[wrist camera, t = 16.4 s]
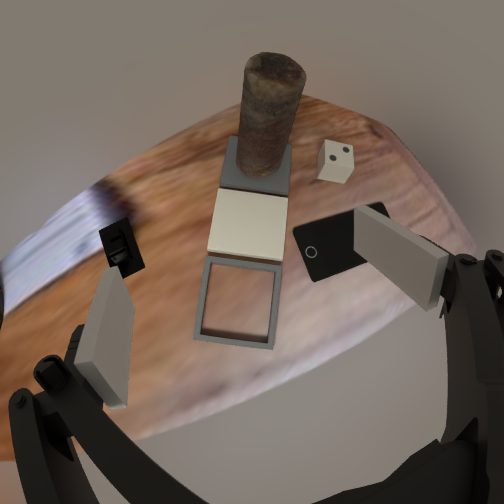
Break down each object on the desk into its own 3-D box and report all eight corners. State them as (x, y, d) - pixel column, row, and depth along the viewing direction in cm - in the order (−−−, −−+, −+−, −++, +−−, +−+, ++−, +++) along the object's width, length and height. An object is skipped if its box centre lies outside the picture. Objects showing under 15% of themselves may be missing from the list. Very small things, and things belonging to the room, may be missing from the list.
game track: (194, 339, 39) (193, 339, 38) (229, 139, 49) (229, 135, 48) (271, 349, 39) (272, 349, 38) (290, 148, 49) (291, 144, 48)
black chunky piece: (155, 275, 42) (147, 268, 37) (114, 295, 40) (102, 290, 36) (130, 208, 45) (121, 195, 40) (93, 227, 43) (81, 216, 39)
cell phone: (290, 230, 45) (292, 228, 44) (380, 203, 48) (382, 201, 47) (311, 283, 43) (313, 282, 42) (400, 248, 46) (403, 246, 45)
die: (317, 178, 48) (325, 162, 43) (317, 155, 49) (325, 138, 45) (343, 184, 48) (354, 168, 43) (343, 161, 50) (352, 145, 45)
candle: (271, 140, 48) (290, 48, 29) (288, 173, 46) (320, 82, 27) (229, 151, 47) (232, 56, 28) (245, 186, 45) (255, 92, 26)
